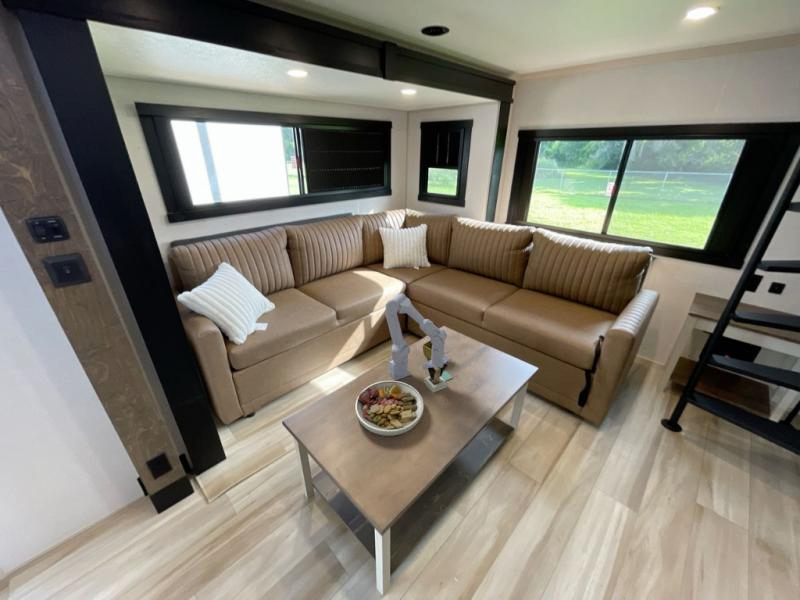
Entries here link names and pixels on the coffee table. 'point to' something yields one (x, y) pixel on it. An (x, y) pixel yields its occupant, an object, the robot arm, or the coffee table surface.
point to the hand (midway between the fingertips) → (435, 376)
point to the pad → (446, 376)
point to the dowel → (436, 376)
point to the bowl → (389, 407)
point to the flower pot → (427, 349)
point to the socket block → (436, 387)
